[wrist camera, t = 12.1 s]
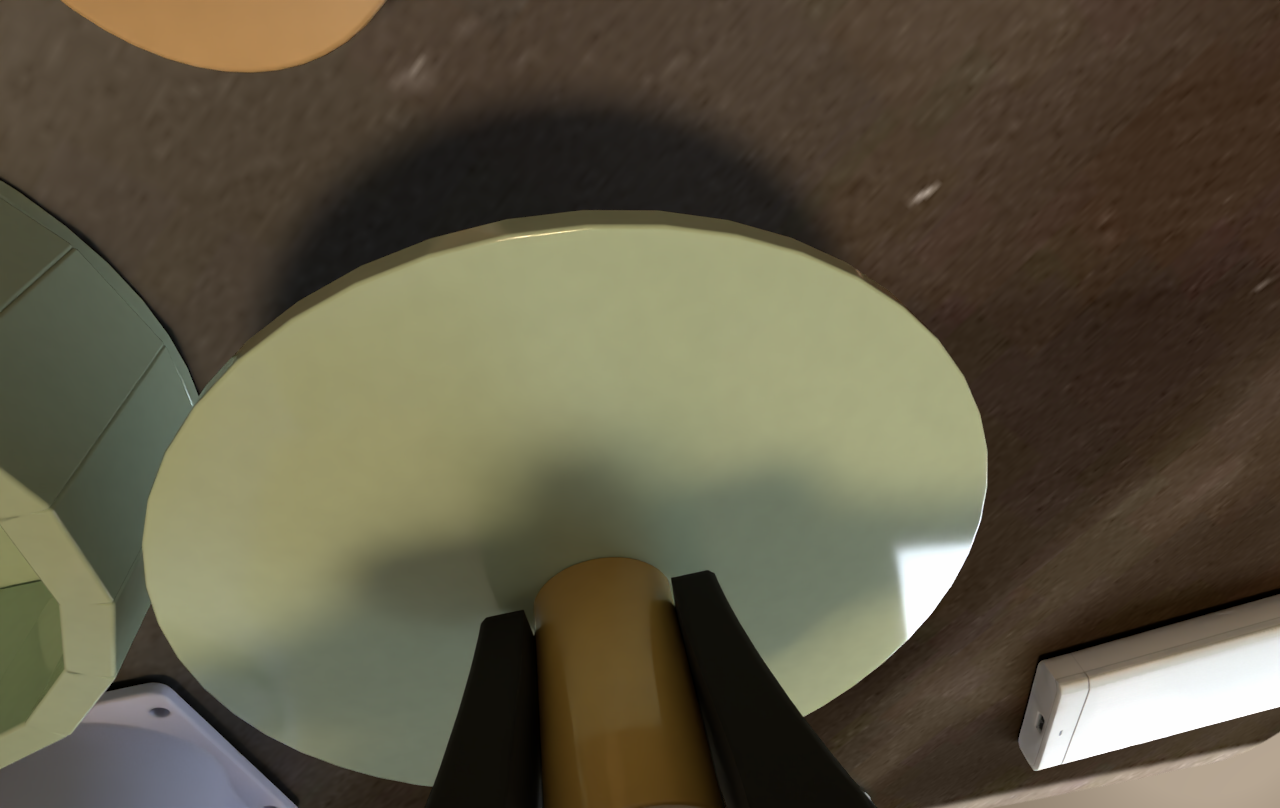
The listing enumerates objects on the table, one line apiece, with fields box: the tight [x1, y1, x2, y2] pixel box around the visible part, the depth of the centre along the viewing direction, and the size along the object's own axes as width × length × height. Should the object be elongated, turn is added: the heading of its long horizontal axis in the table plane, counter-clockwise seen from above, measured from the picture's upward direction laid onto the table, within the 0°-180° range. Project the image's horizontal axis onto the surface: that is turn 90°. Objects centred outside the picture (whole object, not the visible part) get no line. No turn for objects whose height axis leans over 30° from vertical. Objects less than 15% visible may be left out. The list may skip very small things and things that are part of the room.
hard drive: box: [1019, 594, 1280, 771], centre depth 30 cm, size 2×8×12 cm
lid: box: [142, 210, 987, 808], centre depth 11 cm, size 14×14×5 cm
